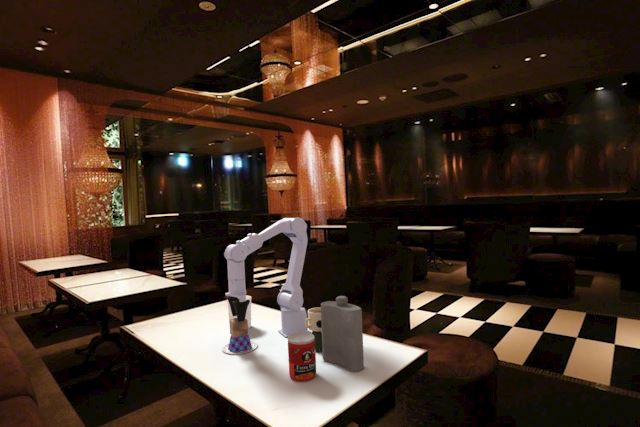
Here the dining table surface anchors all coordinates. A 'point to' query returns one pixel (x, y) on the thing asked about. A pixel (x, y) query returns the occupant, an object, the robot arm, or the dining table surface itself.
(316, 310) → the character mug
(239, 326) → the walnut block
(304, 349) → the canned food
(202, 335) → the dining table surface
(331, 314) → the flask
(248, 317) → the candle holder
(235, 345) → the pudding
